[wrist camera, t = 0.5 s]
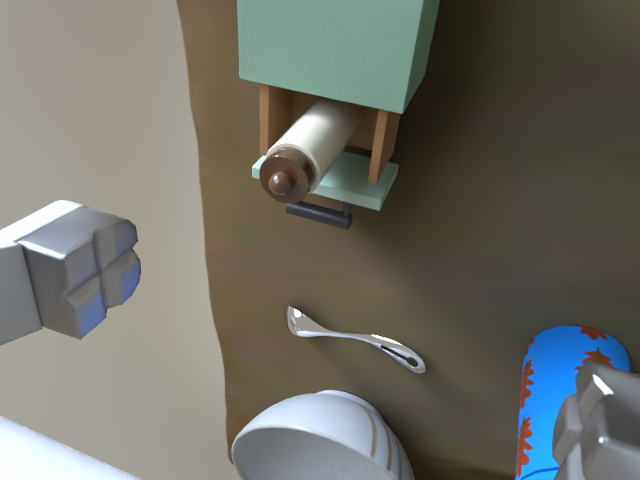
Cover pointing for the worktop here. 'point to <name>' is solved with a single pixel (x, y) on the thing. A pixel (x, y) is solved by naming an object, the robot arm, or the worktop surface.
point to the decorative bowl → (320, 442)
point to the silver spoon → (309, 329)
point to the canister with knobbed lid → (309, 149)
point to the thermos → (555, 389)
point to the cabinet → (338, 47)
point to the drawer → (349, 169)
